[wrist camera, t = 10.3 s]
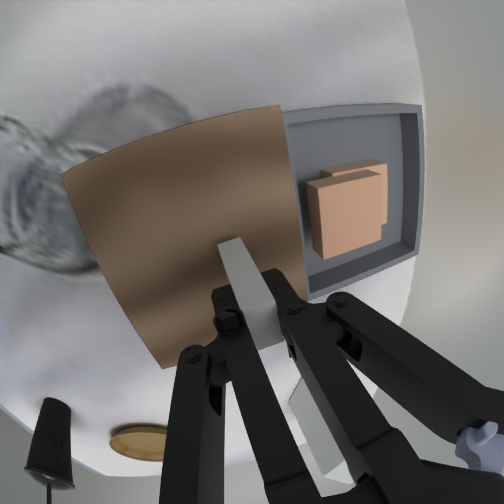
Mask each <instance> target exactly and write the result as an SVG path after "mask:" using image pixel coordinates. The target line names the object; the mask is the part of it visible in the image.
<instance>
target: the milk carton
mask: <svg viewBox="0 0 504 504" xmlns="http://www.w3.org/2000/svg"><path fill="white" fill-rule="evenodd" d="M289 403H290V405H291V408H292V410H293V412H294V414H295V416H296V419H297V421H298V423H299V425H300V427H301V430H302V432H303V434H304V436H305V438H306V441H307V443H308V445H309V447H310V449H311V451H312V453H313V456H314V458H315V460H316V462H317V464H318V466H319V468H320V471H321V473H322V475H323V477H326V478H329V479H333V480H336V481H340V482H344V483H348V484H351V486H352V488H354V487H355V486H356V485H355V483H354V481H353V479H352V477H351V475H350V473H349V470H348V466H347V463H346V461H345V459H344V457H343V455H342V453H341V451H340V450H339V448H338V446H337V444H336V442H335V440H334V438H333V436H332V434H331V432H330V430H329V428H328V426H327V425H326V423H325V421H324V419H323V417H322V415H321V413H320V411H319V409H318V407H317V405H316V403H315V401H314V399H313V397H312V395H311V393H310V391H309V390H308V388H307V386H306V384H305V382H304V380H303V378H301V380H300V382H299V384H298V386H297V388H296V389H295V391H294V393H293V395H292V396H291V398H290V400H289Z"/></svg>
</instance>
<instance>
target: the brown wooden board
mask: <svg viewBox="0 0 504 504" xmlns="http://www.w3.org/2000/svg"><path fill="white" fill-rule="evenodd" d="M61 177H62V180H63V183H64V186H65V189H66V191H67V194H68V197H69V199H70V202H71V205H72V207H73V210H74V212H75V215H76V217H77V220H78V222H79V224H80V227H81V229H82V231H83V233H84V236H85V238H86V240H87V242H88V244H89V247H90V249H91V251H92V253H93V255H94V257H95V259H96V261H97V263H98V265H99V267H100V269H101V271H102V273H103V275H104V277H105V279H106V280H107V282H108V284H109V286H110V288H111V290H112V291H113V293H114V295H115V297H116V299H117V300H118V302H119V304H120V305H121V307H122V309H123V311H124V312H125V314H126V316H127V317H128V319H129V320H130V322H131V324H132V325H133V327H134V328H135V330H136V332H137V333H138V335H139V336H140V338H141V339H142V341H143V342H144V344H145V345H146V347H147V348H148V350H149V351H150V353H151V354H152V355H153V357H154V358H155V360H156V361H157V362H158V364H159V365H160V367H161V368H162V369H165V368H169V367H173V366H177V365H178V359H179V356H180V353H181V352H182V351H183V350H184V349H185V348H186V347H188V346H191V345H194V344H197V345H202V346H206V345H208V344H209V343H211V342H212V341H213V340H214V339H215V338H216V337H217V335H218V332H217V330H216V328H215V326H214V324H213V318H214V316H215V311H214V307H213V303H212V299H211V294H212V291H213V289H216V288H219V287H222V286H225V285H228V284H230V282H229V279H228V276H227V273H226V270H225V267H224V264H223V261H222V258H221V255H220V252H219V249H218V246H217V244H220V243H223V242H226V241H229V240H232V239H235V238H238V237H240V238H241V240H242V241H243V243H244V245H245V247H246V249H247V250H248V252H249V254H250V256H251V258H252V259H253V261H254V263H255V265H256V267H257V268H258V270H259V272H260V273H261V272H264V271H267V270H270V269H272V268H276V269H278V270H280V271H282V273H283V274H284V276H285V278H286V279H287V280H288V282H289V283H290V285H291V286H292V287H293V289H294V290H295V292H296V293H297V295H298V296H299V298H300V299H303V300H305V301H306V302H307V303H308V294H307V284H306V274H305V265H304V256H303V248H302V240H301V232H300V224H299V216H298V209H297V202H296V195H295V189H294V182H293V176H292V169H291V163H290V157H289V151H288V146H287V140H286V134H285V129H284V123H283V118H282V113H281V108H280V105H275V106H268V107H261V108H255V109H250V110H245V111H240V112H235V113H230V114H226V115H222V116H217V117H213V118H209V119H205V120H201V121H197V122H194V123H190V124H187V125H183V126H180V127H176V128H173V129H170V130H167V131H163V132H160V133H157V134H154V135H151V136H148V137H145V138H143V139H140V140H137V141H134V142H132V143H129V144H126V145H124V146H121V147H118V148H116V149H113V150H111V151H109V152H106V153H104V154H101V155H99V156H97V157H95V158H92V159H90V160H88V161H86V162H83V163H81V164H79V165H77V166H75V167H73V168H71V169H69V170H67V171H65V172H64V173H62V174H61Z"/></svg>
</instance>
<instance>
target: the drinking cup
mask: <svg viewBox="0 0 504 504" xmlns="http://www.w3.org/2000/svg"><path fill="white" fill-rule="evenodd" d="M70 426H71V410H70V408H69V407H68V406H67V405H66V404H65V403H63V402H61V401H59V400H57V399H54V398H45V399H44V401H43V404H42V408H41V411H40V414H39V417H38V421H37V424H36V427H35V431H34V435H33V439H32V443H31V447H30V451H29V456H28V460H27V465H26V467H24V470H25V472H26V473H27V474H29V475H30V476H31V477H32V478H33V479H34V480H35V481H37V482H38V483H40V484H41V485H43V486H46V487H47V504H52V502H51V489H54V490H60V491H65V490H73V489H75V485H74V484H73V477H72V466H71V439H70Z"/></svg>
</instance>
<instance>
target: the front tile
mask: <svg viewBox="0 0 504 504" xmlns="http://www.w3.org/2000/svg"><path fill="white" fill-rule="evenodd" d="M306 189H307V198H308V206H309V215H310V225H311V235H312V246H313V250H314V251H315V252H316V253H317V254H318V255H319V256H320V257H321V258H322V259H323V260H325V259H328V258H331V257H334V256H337V255H340V254H342V253H345V252H348V251H351V250H354V249H356V248H359V247H362V246H365V245H368V244H370V243H373V242H376V241H379V240H381V226H382V174H379V173H377V172H374V171H371V170H368V169H364V170H359V171H354V172H349V173H345V174H340V175H335V176H331V177H326V178H322V179H317V180H313V181H309V182H306Z"/></svg>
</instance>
